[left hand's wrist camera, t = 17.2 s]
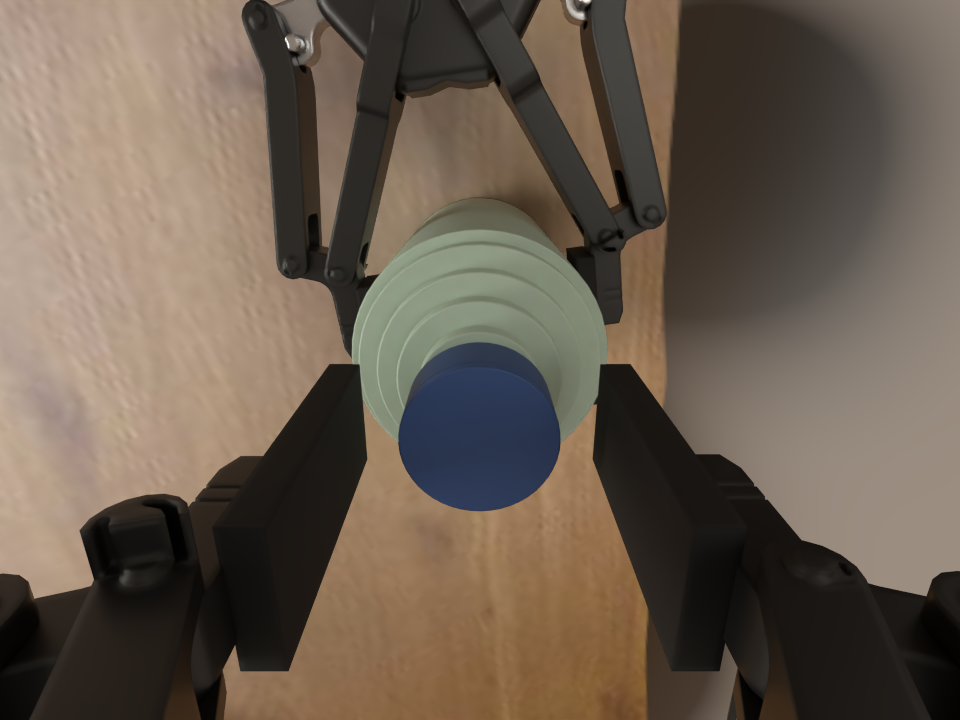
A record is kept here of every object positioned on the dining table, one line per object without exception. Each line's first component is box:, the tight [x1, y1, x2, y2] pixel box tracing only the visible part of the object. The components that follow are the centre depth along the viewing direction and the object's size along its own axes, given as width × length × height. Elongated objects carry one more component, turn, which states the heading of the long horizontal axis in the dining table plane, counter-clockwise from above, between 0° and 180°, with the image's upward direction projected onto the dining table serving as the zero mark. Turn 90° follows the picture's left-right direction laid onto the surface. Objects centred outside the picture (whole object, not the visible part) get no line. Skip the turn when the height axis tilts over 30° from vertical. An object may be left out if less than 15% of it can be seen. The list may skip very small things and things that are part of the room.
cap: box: [398, 342, 561, 511], centre depth 14 cm, size 4×4×2 cm
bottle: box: [352, 198, 607, 443], centre depth 22 cm, size 8×8×18 cm
